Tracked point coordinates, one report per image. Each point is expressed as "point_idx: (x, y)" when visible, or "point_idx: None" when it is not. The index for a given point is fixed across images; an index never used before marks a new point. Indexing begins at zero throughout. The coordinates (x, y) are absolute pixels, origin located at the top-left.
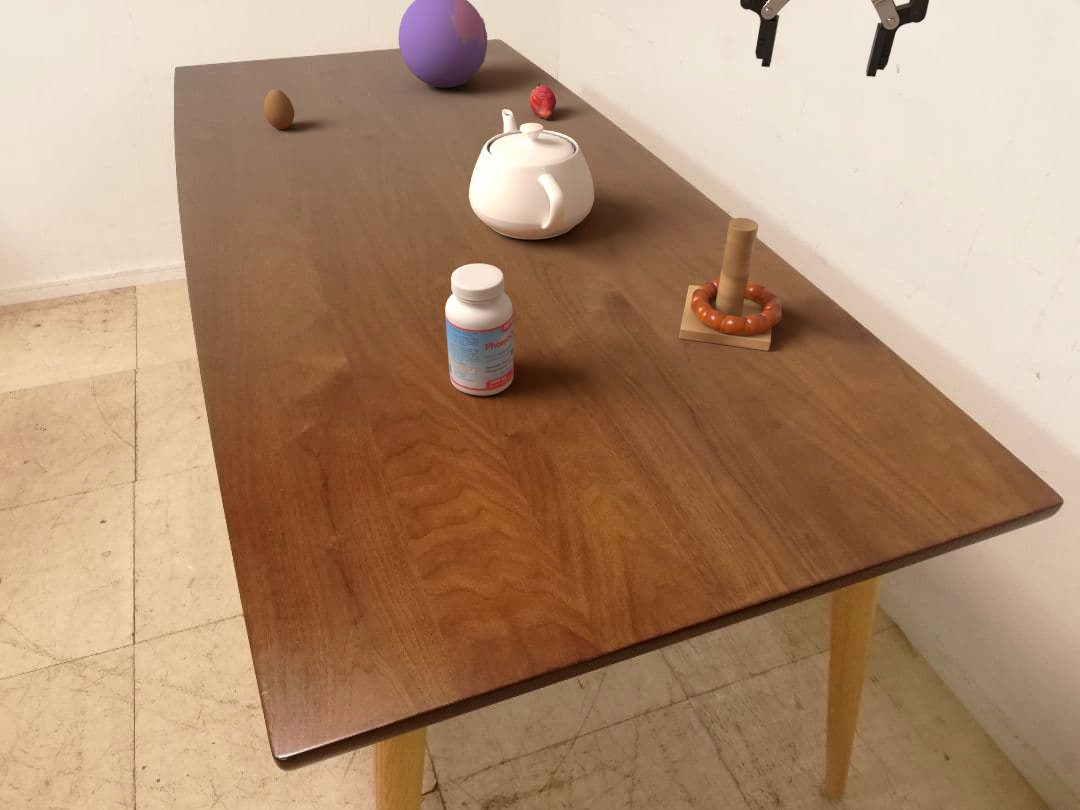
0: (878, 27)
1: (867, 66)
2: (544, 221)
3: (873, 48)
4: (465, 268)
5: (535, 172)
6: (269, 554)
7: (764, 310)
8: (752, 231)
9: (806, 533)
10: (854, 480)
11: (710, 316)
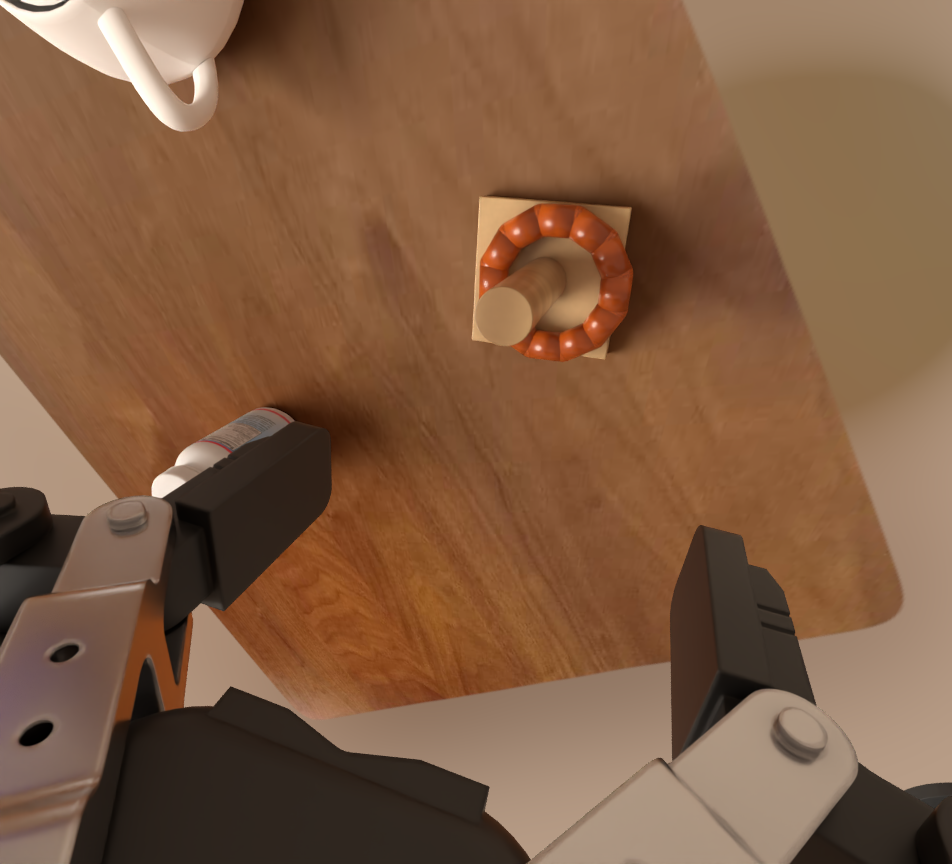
0: (687, 742)
1: (692, 555)
2: (188, 70)
3: (673, 685)
4: (159, 487)
5: (82, 22)
6: (231, 618)
7: (598, 302)
8: (520, 341)
9: (603, 634)
10: (669, 581)
11: None
